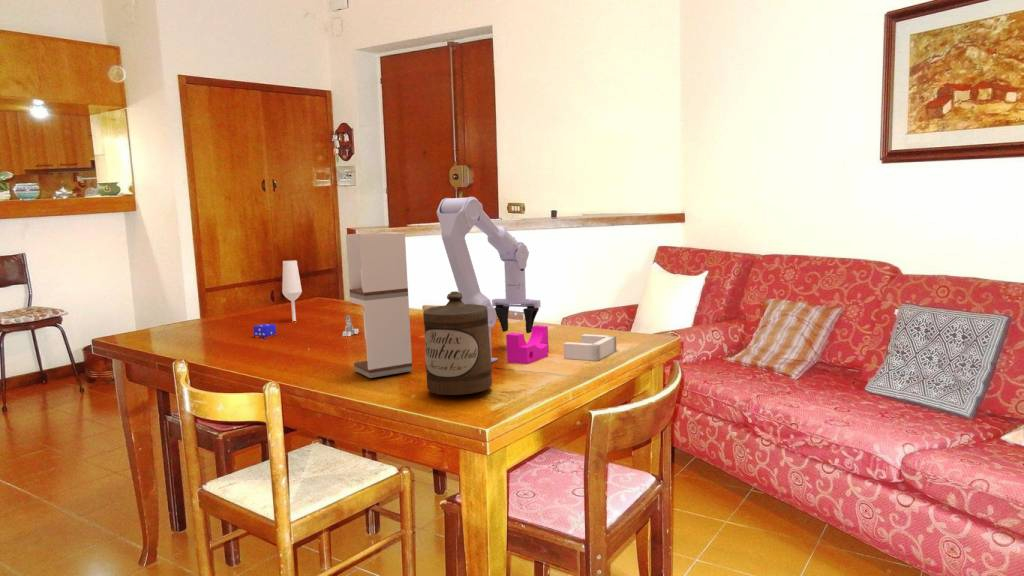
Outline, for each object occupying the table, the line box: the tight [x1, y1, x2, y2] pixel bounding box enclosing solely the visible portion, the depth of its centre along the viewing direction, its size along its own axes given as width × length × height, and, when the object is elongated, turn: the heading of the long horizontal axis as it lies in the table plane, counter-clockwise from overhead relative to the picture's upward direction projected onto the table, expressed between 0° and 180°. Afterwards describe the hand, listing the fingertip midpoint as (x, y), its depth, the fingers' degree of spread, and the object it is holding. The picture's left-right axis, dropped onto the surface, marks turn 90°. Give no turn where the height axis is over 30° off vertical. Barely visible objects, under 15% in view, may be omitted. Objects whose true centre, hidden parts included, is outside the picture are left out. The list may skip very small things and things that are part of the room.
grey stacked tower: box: [345, 231, 413, 379], centre depth 178 cm, size 11×11×35 cm
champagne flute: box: [281, 259, 303, 322], centre depth 251 cm, size 7×7×24 cm
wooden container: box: [422, 290, 493, 396], centre depth 160 cm, size 15×15×22 cm
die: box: [252, 323, 277, 337], centre depth 229 cm, size 5×5×5 cm
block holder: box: [563, 333, 617, 362], centre depth 190 cm, size 14×10×4 cm
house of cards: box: [342, 315, 360, 338], centre depth 227 cm, size 9×9×8 cm
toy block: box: [505, 324, 550, 365], centre depth 189 cm, size 15×6×8 cm, turn 146°
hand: (517, 331), depth 200 cm, fingers open, 7 cm apart
